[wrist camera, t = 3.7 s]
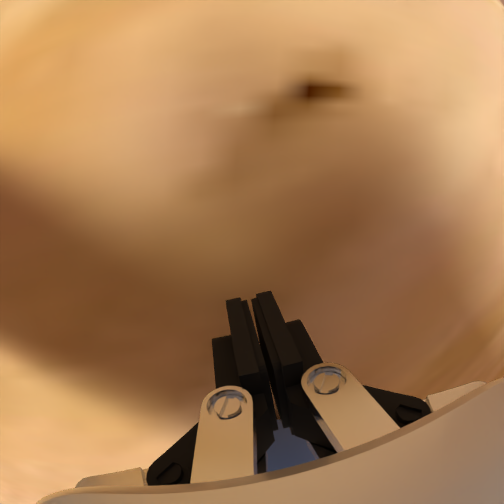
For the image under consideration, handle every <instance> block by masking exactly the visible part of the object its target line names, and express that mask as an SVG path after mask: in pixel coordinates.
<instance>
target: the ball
mask: <svg viewBox="0 0 504 504" xmlns="http://www.w3.org/2000/svg"><path fill="white" fill-rule="evenodd" d="M277 424H278V430H276V431H273V434H274V438H275V441H274V443H273V444H272V445H271V446H270V448H269V449H268V450H267V455H268V472H270V471H275V470H279V469H284V468H288V467H292V466H296V465H299V464H303V463H307V462H310V461H314V460H316V459H315V458H314V456H313V454H312V453H311V451H310V449H309V448H308V446H307V443H306V440H304V439H302V438H299V437H297V436H295V435H292V434H291V431H290V428H289V427H288V428H283V426H282V422H281V420H277Z"/></svg>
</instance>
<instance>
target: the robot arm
mask: <svg viewBox="0 0 504 504" xmlns="http://www.w3.org/2000/svg"><path fill="white" fill-rule="evenodd" d="M251 301H252V306H253V311H254V317H255V322H256V327H257V332H258V337H259V341H258V337H257V334H256V330H255V327H254V323H253V320H252V316H251V313H250V310H249V306H248V303H247V300H244V301H241V299H240V298H235V299H230V300H226V306H227V312H228V318H229V324H230V330H231V335H229V336H224V337H219V338H214V339H212V347H213V359H214V371H215V382H216V389H215V390H213V391H211V392H210V393H209V394H207V396H206V397H205V398H204V399H203V402H202V405H201V410H200V417H199V422H198V423H197V424H196V425H195V426H194V427H193V428H191V429H190V430H189V431H188V432H187V433H186V434H185V435H184V436H183V437H182V438H181V439H179V440H178V441H177V442H176V443H175V444H174V445H173V446H172V447H171V448H169V449H168V450H167V451H166V452H165V453H164V454H163V455H161V456H160V457H159V458H158V459H157V460H156V461H154V462H153V464H152V465H151V466H150V467H149V468H148V469H144V470H142V469H141V468H140V467H139V468H135V469H130V470H125V471H120V472H115V473H109V474H104V475H97V476H91V477H87V478H84V479H82V480H81V481H80V482H78V484H77V485H76V487H75V488H73V489H68V490H63V491H59V492H56V493H53V494H50V495H48V496H46V497H44V498H42V499H41V500H39V501H38V502H37V503H36V504H504V377H502V378H499V379H497V380H494V381H491V382H489V383H486V382H482V381H475V382H471V383H468V384H465V385H462V386H459V387H456V388H452V389H449V390H446V391H442V392H439V393H435V394H432V395H428V396H427V397H426V399H424V400H421V399H419V398H416V397H413V396H408V395H403V394H398V393H394V392H389V391H385V390H381V389H376V388H372V387H368V386H364V385H361V384H360V382H359V381H358V380H357V379H356V378H355V377H354V376H353V375H352V373H351V372H350V371H349V370H348V369H347V368H345V367H344V366H342V365H340V364H337V363H323V361H322V359H321V357H320V356H319V354H318V352H317V350H316V348H315V346H314V344H313V342H312V341H311V339H310V337H309V335H308V333H307V331H306V329H305V327H304V326H303V324H302V322H301V320H295V321H291V322H287V323H285V321H284V319H283V317H282V314H281V312H280V310H279V308H278V305H277V303H276V301H275V299H274V297H273V294H272V292H271V291H267V292H263V293H258V294H256V298H254V299H251ZM259 343H260V344H259ZM270 385H271V388H270ZM271 389H272V392H273V396H274V399H275V402H276V406H277V409H278V412H279V416H280V419H281V422H282V426H283V428H288V427H289V428H290V431H291V434H292V435H295V436H297V437H299V438H302V439H304V440H306V443H307V446H308V448H309V449H310V451H311V453H312V454H313V456H314V458H315V459H316V460H314V461H310V462H307V463H303V464H299V465H296V466H292V467H288V468H284V469H279V470H275V471H270V472H268V455H267V450H268V449H269V448H270V446H271V445H272V444H273V443H274V441H275V438H274V434H273V431H276V430H278V424H277V419H276V414H275V409H274V403H273V398H272V393H271Z"/></svg>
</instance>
